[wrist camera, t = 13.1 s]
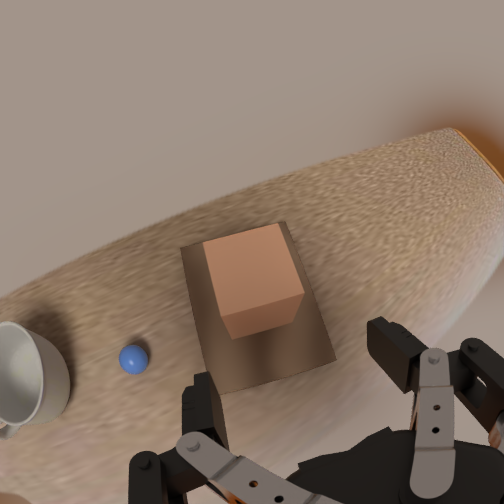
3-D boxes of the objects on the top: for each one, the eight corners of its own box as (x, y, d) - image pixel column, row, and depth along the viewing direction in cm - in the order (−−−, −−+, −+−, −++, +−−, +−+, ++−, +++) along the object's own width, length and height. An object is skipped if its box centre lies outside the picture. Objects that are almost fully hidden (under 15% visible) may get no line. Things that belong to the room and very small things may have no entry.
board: (215, 395, 26) (213, 395, 25) (182, 253, 33) (180, 248, 32) (333, 361, 27) (336, 359, 26) (284, 227, 34) (285, 221, 33)
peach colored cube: (232, 339, 27) (221, 316, 20) (217, 283, 30) (202, 242, 23) (292, 322, 28) (304, 292, 20) (273, 268, 31) (277, 222, 23)
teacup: (45, 322, 29) (4, 300, 22) (99, 379, 26) (56, 370, 19) (2, 399, 24) (-41, 390, 17) (49, 460, 21) (5, 465, 14)
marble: (128, 377, 27) (116, 374, 24) (124, 350, 28) (111, 345, 25) (154, 373, 27) (144, 370, 24) (149, 345, 28) (138, 339, 26)
